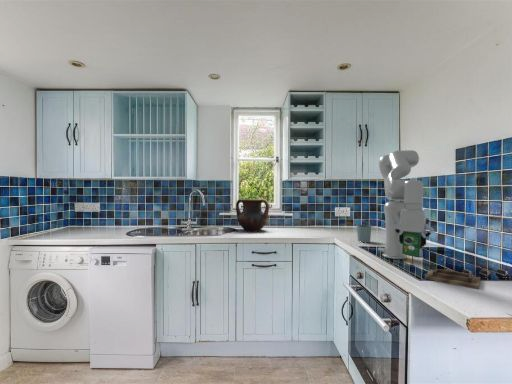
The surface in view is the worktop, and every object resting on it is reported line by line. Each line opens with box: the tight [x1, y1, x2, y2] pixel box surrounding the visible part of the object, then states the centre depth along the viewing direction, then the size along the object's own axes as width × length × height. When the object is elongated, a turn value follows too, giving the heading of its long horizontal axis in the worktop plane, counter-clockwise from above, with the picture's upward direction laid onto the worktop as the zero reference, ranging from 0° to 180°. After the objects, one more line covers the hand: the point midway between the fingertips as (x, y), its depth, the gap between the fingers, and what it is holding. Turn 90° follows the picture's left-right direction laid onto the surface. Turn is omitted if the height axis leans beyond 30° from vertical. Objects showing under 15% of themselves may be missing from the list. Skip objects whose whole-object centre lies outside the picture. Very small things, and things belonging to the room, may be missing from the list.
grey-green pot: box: [356, 224, 372, 243], centre depth 205 cm, size 10×10×12 cm
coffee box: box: [402, 231, 423, 259], centre depth 129 cm, size 8×3×13 cm, turn 35°
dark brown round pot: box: [235, 198, 270, 233], centre depth 259 cm, size 32×28×30 cm
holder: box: [424, 268, 481, 290], centre depth 118 cm, size 18×14×3 cm
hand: (412, 244), depth 129 cm, fingers closed on coffee box, 8 cm apart
